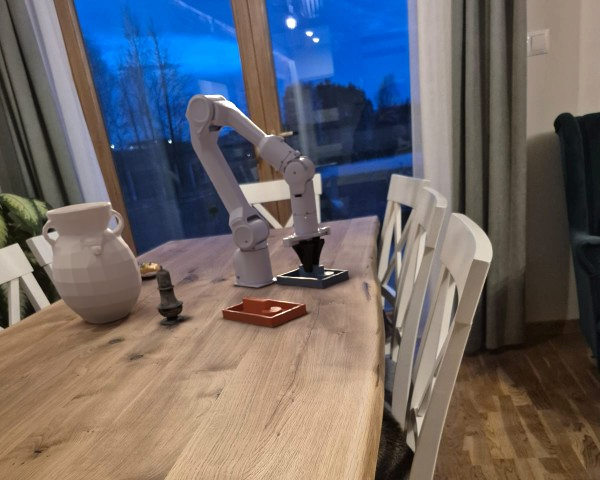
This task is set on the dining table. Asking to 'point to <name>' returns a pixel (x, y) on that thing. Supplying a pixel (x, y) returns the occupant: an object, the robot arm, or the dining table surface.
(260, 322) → the terracotta tray
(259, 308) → the orange stepped block
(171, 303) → the salt shaker
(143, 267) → the cake
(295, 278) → the slate tray
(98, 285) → the white handled vase
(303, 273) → the dark blue stepped block
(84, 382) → the dining table surface
